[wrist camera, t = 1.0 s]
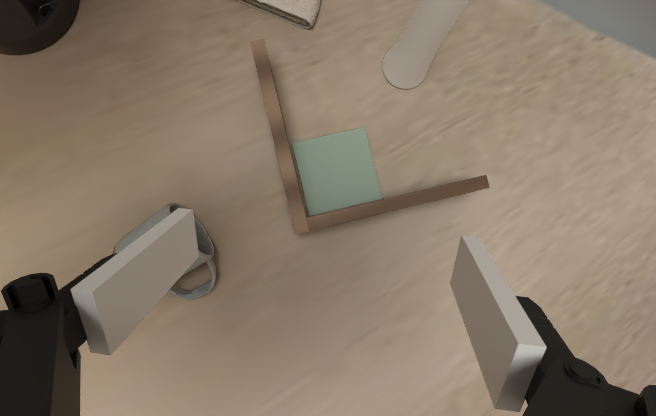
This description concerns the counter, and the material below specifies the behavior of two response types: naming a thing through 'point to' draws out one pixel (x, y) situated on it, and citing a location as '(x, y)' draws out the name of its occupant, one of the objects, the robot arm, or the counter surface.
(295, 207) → the walnut corner walls
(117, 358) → the counter surface
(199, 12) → the counter surface
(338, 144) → the mat
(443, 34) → the cosmetic bottle
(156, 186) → the counter surface
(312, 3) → the washcloth
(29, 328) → the robot arm
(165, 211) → the ceramic mug
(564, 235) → the counter surface
